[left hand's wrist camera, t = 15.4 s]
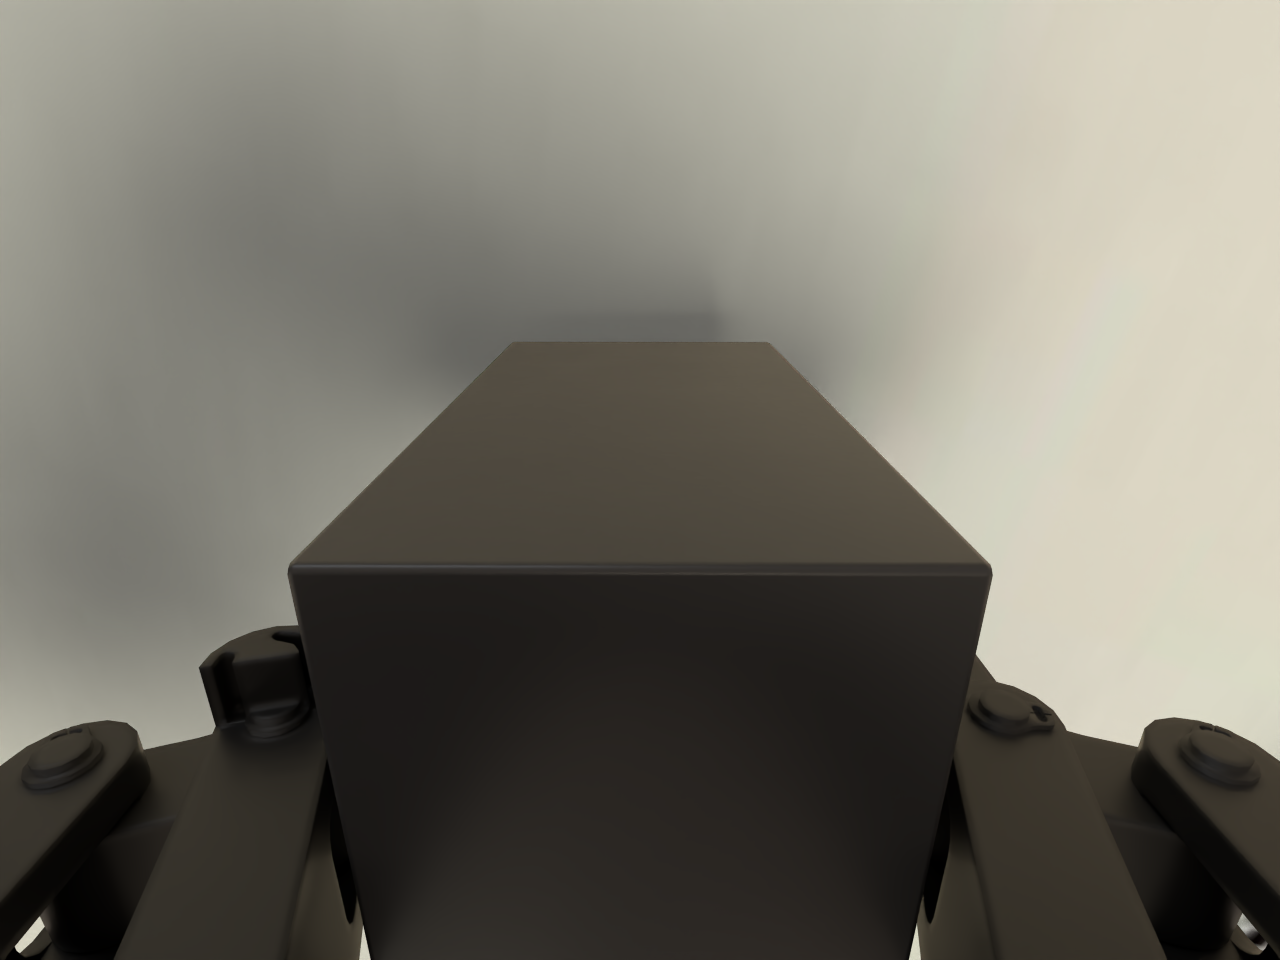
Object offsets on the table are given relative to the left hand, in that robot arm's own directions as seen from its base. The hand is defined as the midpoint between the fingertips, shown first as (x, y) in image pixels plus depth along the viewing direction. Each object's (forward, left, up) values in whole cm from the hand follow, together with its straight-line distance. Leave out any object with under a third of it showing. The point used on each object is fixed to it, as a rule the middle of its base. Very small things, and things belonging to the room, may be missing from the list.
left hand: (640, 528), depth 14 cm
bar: (+9, -5, -1) cm, 10 cm away
